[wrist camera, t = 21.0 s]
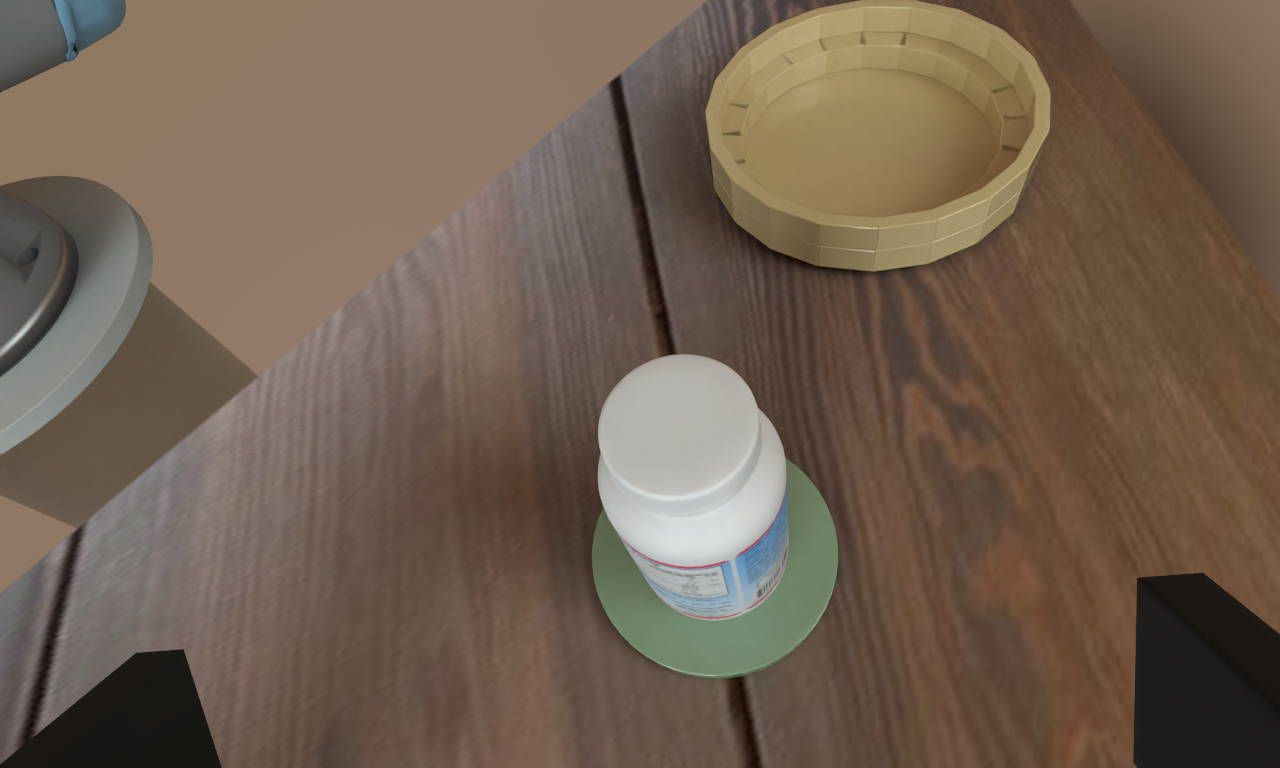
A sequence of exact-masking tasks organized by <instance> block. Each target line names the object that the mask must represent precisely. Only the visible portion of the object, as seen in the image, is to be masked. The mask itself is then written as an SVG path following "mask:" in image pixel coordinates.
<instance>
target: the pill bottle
mask: <svg viewBox="0 0 1280 768" xmlns="http://www.w3.org/2000/svg"><path fill="white" fill-rule="evenodd" d="M598 441H599V447H600V451H601V454H600V458H599V465H598V488H599V493H600V498H601V501H602V504H603V507H604V509H605V512H606V514H607V516H608V518H609V520H610V522H611V523H612V525H613V527H614V529H615V530H616V532H617V533H618V535H619V537H620V538H621V540H622V542H623V543H624V545H625V547H626V548H627V550H628V552H629V553H630V555H631V557H632V558H633V560H634V561H635V563H636V565H637V566H638V568H639V569H640V571H641V573H642V574H643V576H644V577H645V579H646V581H647V582H648V584H649V585H650V587H651V588H652V589H653V591H654V592H655V593H656V594H657V595H658V596H659V597H660V598H661V599H662V600H663V601H664V602H665V603H666V604H667V605H668V606H670V607H671V608H673V609H674V610H676V611H678V612H680V613H682V614H684V615H686V616H689V617H692V618H696V619H700V620H712V621H715V620H726V619H731V618H734V617H738V616H740V615H743V614H745V613H747V612H749V611H751V610H753V609H754V608H756V607H757V606H759V605H760V604H761V603H762V602H764V601H765V600H766V599H767V598H768V597H769V596H770V595H771V593H772V592H773V591H774V590H775V588H776V587H777V585H778V584H779V582H780V580H781V578H782V576H783V573H784V571H785V568H786V564H787V559H788V552H789V527H788V499H787V471H786V461H785V455H784V450H783V446H782V443H781V441H780V438H779V436H778V434H777V432H776V430H775V428H774V426H773V425H772V423H771V422H770V421H769V419H768V418H767V417H766V416H765V414H764V413H763V412H762V411H761V410H760V409H759V408H758V407H757V404H756V401H755V398H754V396H753V394H752V392H751V390H750V389H749V387H748V385H747V384H746V383H745V382H744V380H743V379H742V378H741V377H740V376H739V375H738V374H737V373H736V372H735V371H733V370H732V369H731V368H729V367H728V366H726V365H724V364H722V363H720V362H718V361H716V360H713V359H710V358H707V357H703V356H698V355H689V354H679V355H670V356H665V357H660V358H657V359H654V360H651V361H649V362H647V363H645V364H642V365H640V366H639V367H637V368H636V369H634V370H632V371H631V372H630V373H628V374H627V375H626V376H625V377H624V378H623V379H622V380H621V381H620V382H619V383H618V384H617V385H616V386H615V387H614V389H613V390H612V391H611V393H610V394H609V396H608V398H607V399H606V401H605V404H604V406H603V408H602V411H601V414H600V419H599V425H598Z"/></svg>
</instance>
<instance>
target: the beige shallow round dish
mask: <svg viewBox="0 0 1280 768" xmlns="http://www.w3.org/2000/svg"><path fill="white" fill-rule="evenodd" d="M705 118H706V127H707V135H708V144H709V152H710V160H711V167H712V175H713V182H714V189H715V191H716V193H717V194H718V196H719V197H720V199H721V201H722V202H723V204H724V205H725V207H726V208H727V210H728V212H729V213H730V215H731V216H732V218H733V220H734V221H735V222H736V223H737V224H738V225H739V226H741V227H742V228H743V229H745V230H746V231H747V232H749V233H750V234H751V235H753V236H754V237H755V238H756V239H758V240H759V241H760V242H762V243H763V244H764V245H766V246H767V247H768V248H771V249H772V250H775V251H777V252H780V253H783V254H785V255H788V256H791V257H794V258H796V259H799V260H802V261H804V262H807V263H810V264H813V265H815V266H822V267H832V268H842V269H852V270H862V271H873V272H875V271H882V270H889V269H896V268H903V267H910V266H917V265H924V264H927V263H928V264H929V263H931V262H934V261H936V260H938V259H941V258H943V257H946V256H948V255H950V254H953V253H955V252H957V251H960V250H962V249H965V248H967V247H969V246H972V245H974V244H976V243H978V242H979V241H980V240H981V239H982V238H984V237H985V236H986V235H987V234H988V233H990V232H991V231H992V230H993V229H994V228H996V227H997V226H998V225H999V224H1000V223H1002V222H1003V221H1004V220H1005V219H1006V218H1007V217H1009V216H1010V215H1011V214H1012V213H1013V212H1014V210H1015V209H1016V207H1017V205H1018V203H1019V201H1020V199H1021V197H1022V195H1023V194H1024V192H1025V190H1026V188H1027V186H1028V184H1029V182H1030V180H1031V179H1032V176H1033V174H1034V171H1035V168H1036V166H1037V163H1038V160H1039V157H1040V154H1041V152H1042V149H1043V146H1044V144H1045V141H1046V138H1047V135H1048V133H1049V130H1050V89H1049V87H1048V85H1047V83H1046V81H1045V79H1044V77H1043V75H1042V73H1041V71H1040V69H1039V67H1038V65H1037V63H1036V61H1035V59H1034V57H1033V56H1032V55H1031V54H1030V53H1029V52H1028V51H1027V50H1026V49H1024V48H1023V47H1022V46H1021V45H1020V44H1019V43H1018V42H1017V41H1015V40H1014V39H1013V38H1012V37H1011V36H1010V35H1009V34H1007V33H1006V32H1005V31H1004V30H1003V29H1001V28H999V27H997V26H994V25H992V24H990V23H988V22H986V21H984V20H981V19H979V18H977V17H975V16H973V15H971V14H968V13H966V12H964V11H962V10H959V9H955V8H950V7H945V6H940V5H935V4H931V3H926V2H921V1H916V0H859V1H854V2H848V3H843V4H838V5H832V6H827V7H821V8H817V9H813V10H811V11H808V12H806V13H803V14H801V15H798V16H796V17H793V18H791V19H788V20H786V21H783V22H781V23H778V24H776V25H773V26H772V27H770V28H769V29H768V30H766V31H765V32H763V33H762V34H760V35H759V36H758V37H756V38H755V39H753V40H752V41H750V42H749V43H747V44H746V45H745V46H743V47H742V48H740V50H739V51H738V52H737V53H736V54H735V56H734V57H733V58H732V59H731V61H730V62H729V63H728V64H727V66H726V67H725V68H724V69H723V71H722V72H721V73H720V74H719V76H718V77H717V78H716V80H715V82H714V86H713V89H712V92H711V95H710V98H709V101H708V105H707V108H706V111H705Z"/></svg>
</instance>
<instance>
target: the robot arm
mask: <svg viewBox="0 0 1280 768" xmlns="http://www.w3.org/2000/svg"><path fill="white" fill-rule="evenodd" d="M125 8H126V5H125V0H0V92H2V91H4V90H7V89H9V88H11V87H13V86H15V85H17V84H19V83H21V82H23V81H26V80H28V79H30V78H32V77H34V76H36V75H38V74H40V73H42V72H45V71H47V70H49V69H51V68H53V67H55V66H57V65H59V64H61V63H63V62H69V61H72V60H74V59H75V58H76V57H77V55H78V53H79V51H81V50H83V49H85V48H86V47H88V46H90V45H91V44H93V43H95V42H97V41H98V40H100V39H102V38H103V37H105V36H107V35H108V34H110V33H112V32H113V31H115V30H116V29H117V28H118V27H119V26H120V25H121V23H122V21H123V19H124V16H125ZM78 265H79V258H78V251H77V246H76V244H75V242H74V239H73V238H72V236H71V235H70V234H69V233H68V232H67V231H66V230H65V229H64V228H63V227H62V226H61V225H60V224H58V223H57V222H56V221H55V220H54V219H52V218H51V217H50V216H49V215H47V214H46V213H45V212H43V211H42V210H40V209H38V208H37V207H35V206H33V205H32V204H30V203H28V202H26V201H24V200H22V199H19V198H17V197H15V196H13V195H10V194H8V193H6V192H4V191H1V190H0V377H1V376H3V375H4V374H5V373H7V372H8V371H9V370H10V369H12V368H13V367H14V366H15V365H16V364H18V363H19V362H20V361H21V360H22V359H23V358H24V357H25V356H26V355H27V354H28V353H29V352H31V351H32V349H33V348H34V347H35V346H36V345H37V344H38V343H39V342H40V341H41V340H42V339H43V337H44V336H45V335H46V334H47V333H48V331H49V330H50V329H51V327H52V326H53V325H54V323H55V322H56V320H57V319H58V317H59V316H60V314H61V313H62V311H63V309H64V308H65V306H66V304H67V302H68V300H69V298H70V296H71V293H72V291H73V288H74V285H75V282H76V278H77V273H78ZM1133 762H1134V764H1135V765H1136V766H1137V768H1280V634H1279V633H1277V632H1276V631H1275V630H1274V629H1272V628H1271V627H1270V626H1269V625H1267V624H1266V623H1265V622H1264V621H1262V620H1261V619H1260V618H1259V617H1257V616H1256V615H1255V614H1254V613H1252V612H1251V611H1250V610H1249V609H1247V608H1246V607H1245V606H1244V605H1242V604H1241V603H1240V602H1239V601H1238V600H1236V599H1235V598H1234V597H1233V596H1231V595H1230V594H1229V593H1228V592H1226V591H1225V590H1224V589H1223V588H1221V587H1220V586H1219V585H1218V584H1216V583H1215V582H1214V581H1213V580H1211V579H1210V578H1209V577H1208V576H1206V575H1205V574H1204V573H1194V574H1181V575H1168V576H1154V577H1141V578H1137V617H1136V665H1135V713H1134V761H1133ZM0 768H222V767H221V764H220V761H219V758H218V755H217V752H216V749H215V745H214V742H213V739H212V736H211V733H210V730H209V727H208V724H207V721H206V718H205V714H204V711H203V708H202V705H201V702H200V699H199V696H198V693H197V690H196V687H195V683H194V680H193V677H192V674H191V671H190V668H189V665H188V662H187V659H186V656H185V653H184V649H182V650H169V651H155V652H142V653H136V654H134V655H133V656H132V657H131V658H129V659H128V660H127V661H126V662H125V663H123V664H122V665H121V666H120V667H118V668H117V669H116V670H115V671H114V672H112V673H111V674H110V675H109V676H108V677H106V678H105V679H104V680H103V681H101V682H100V683H99V684H98V685H97V686H95V687H94V688H93V689H92V690H90V691H89V692H88V693H87V694H86V695H84V696H83V697H82V698H81V699H79V700H78V701H77V702H76V703H75V704H73V705H72V706H71V707H70V708H68V709H67V710H66V711H65V712H64V713H62V714H61V715H60V716H59V717H58V718H56V719H55V720H54V721H53V722H51V723H50V724H49V725H48V726H47V727H45V728H44V729H43V730H42V731H40V732H39V733H38V734H37V735H36V736H34V737H33V738H32V739H31V740H29V741H28V742H27V743H26V744H25V745H23V746H22V747H21V748H20V749H19V750H17V751H16V752H15V753H14V754H12V755H11V756H10V757H9V758H8V759H6V760H5V761H4V762H3V763H1V764H0Z"/></svg>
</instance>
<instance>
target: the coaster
mask: <svg viewBox="0 0 1280 768" xmlns="http://www.w3.org/2000/svg"><path fill="white" fill-rule="evenodd" d="M785 461H786V471H787V499H788V527H789V552H788V559H787V564H786V568H785V571H784V573H783V576H782V578H781V580H780V582H779V584H778V585H777V587H776V588H775V590H774V591H773V592H772V593H771V595H770V596H769V597H768V598H767V599H766V600H765V601H764V602H762V603H761V604H760V605H759V606H757V607H756V608H754V609H753V610H751V611H749V612H747V613H745V614H743V615H740V616H738V617H734V618H731V619H726V620H715V621H712V620H700V619H696V618H692V617H689V616H686V615H684V614H682V613H680V612H678V611H676V610H674V609H673V608H671V607H670V606H668V605H667V604H666V603H665V602H664V601H663V600H662V599H661V598H660V597H659V596H658V595H657V594H656V593H655V592H654V591H653V589H652V588H651V587H650V585H649V584H648V582H647V581H646V579H645V577H644V576H643V574H642V573H641V571H640V569H639V568H638V566H637V565H636V563H635V561H634V560H633V558H632V557H631V555H630V553H629V552H628V550H627V548H626V547H625V545H624V543H623V542H622V540H621V538H620V537H619V535H618V533H617V532H616V530H615V529H614V527H613V525H612V523H611V522H610V520H609V518H608V516H607V514H606V512H605V509H604V507H603V509H602V511H601V513H600V516H599V518H598V521H597V525H596V528H595V532H594V538H593V545H592V569H593V578H594V582H595V586H596V590H597V594H598V596H599V599H600V601H601V604H602V606H603V608H604V610H605V612H606V614H607V615H608V617H609V619H610V621H611V622H612V624H613V625H614V626H615V628H616V629H617V630H618V632H619V633H620V634H621V635H622V637H623V638H624V639H625V640H626V641H627V642H628V643H629V644H630V645H631V646H632V647H633V648H634V649H636V650H637V651H638V652H640V653H641V654H642V655H643V656H645V657H646V658H647V659H649V660H651V661H653V662H655V663H656V664H658V665H660V666H662V667H664V668H666V669H669V670H672V671H674V672H677V673H680V674H684V675H688V676H693V677H699V678H710V679H717V678H732V677H737V676H743V675H747V674H751V673H754V672H757V671H760V670H763V669H765V668H767V667H769V666H771V665H773V664H775V663H777V662H779V661H780V660H782V659H783V658H785V657H786V656H788V655H789V654H790V653H792V652H793V651H794V650H795V649H796V648H798V647H799V646H800V645H801V644H802V643H803V642H804V641H805V640H806V639H807V638H808V637H809V635H810V634H811V633H812V632H813V630H814V629H815V628H816V627H817V625H818V623H819V622H820V620H821V618H822V617H823V615H824V614H825V611H826V609H827V607H828V604H829V602H830V600H831V597H832V594H833V590H834V586H835V583H836V577H837V569H838V542H837V536H836V530H835V527H834V523H833V520H832V516H831V514H830V512H829V509H828V507H827V505H826V503H825V501H824V499H823V497H822V496H821V494H820V492H819V491H818V489H817V488H816V486H815V485H814V484H813V483H812V482H811V480H810V479H809V478H808V477H807V476H806V475H805V474H804V473H803V472H802V471H801V470H800V469H799V468H798V467H797V466H796V465H795V464H793V463H792V462H791V461H789V460H788V459H786V458H785Z"/></svg>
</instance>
